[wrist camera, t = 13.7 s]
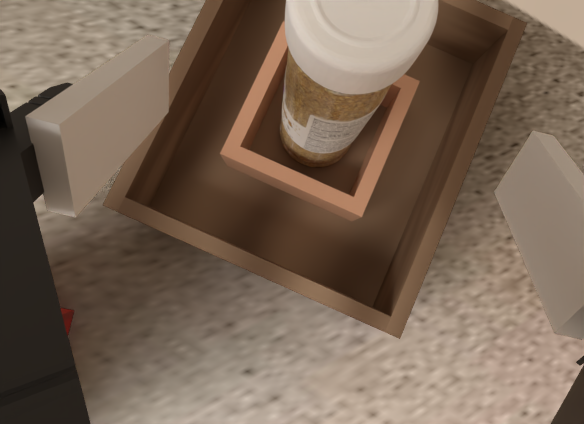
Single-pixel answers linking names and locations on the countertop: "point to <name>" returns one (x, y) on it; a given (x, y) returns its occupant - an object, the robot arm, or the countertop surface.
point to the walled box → (341, 175)
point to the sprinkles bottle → (344, 68)
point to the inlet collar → (293, 181)
